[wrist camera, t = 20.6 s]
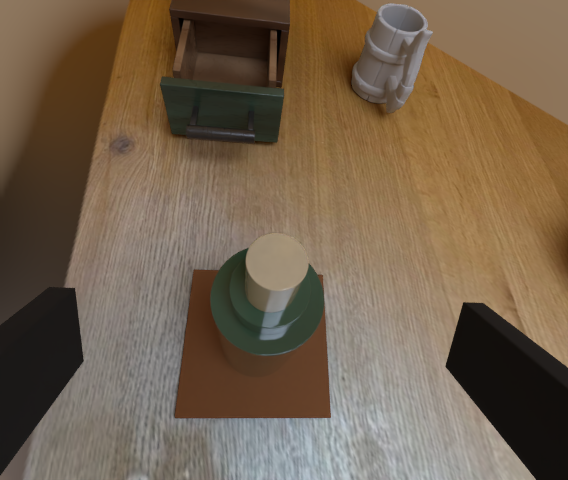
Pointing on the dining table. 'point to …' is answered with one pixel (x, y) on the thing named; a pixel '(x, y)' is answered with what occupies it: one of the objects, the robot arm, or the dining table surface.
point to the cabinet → (238, 19)
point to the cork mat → (237, 387)
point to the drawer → (224, 83)
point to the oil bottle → (266, 304)
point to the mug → (391, 56)
